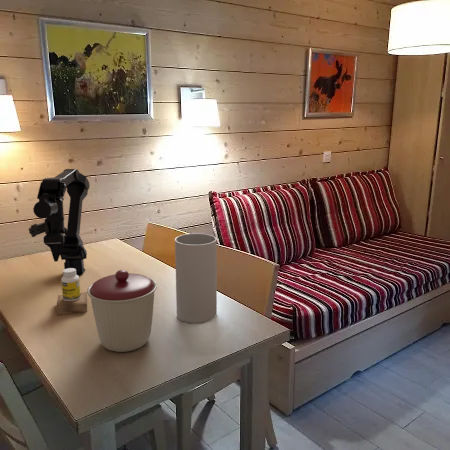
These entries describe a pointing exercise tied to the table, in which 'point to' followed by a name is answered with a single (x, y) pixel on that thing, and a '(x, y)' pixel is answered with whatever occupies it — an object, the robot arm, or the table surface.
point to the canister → (123, 310)
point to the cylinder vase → (196, 277)
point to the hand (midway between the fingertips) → (57, 258)
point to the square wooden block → (71, 305)
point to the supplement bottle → (70, 285)
